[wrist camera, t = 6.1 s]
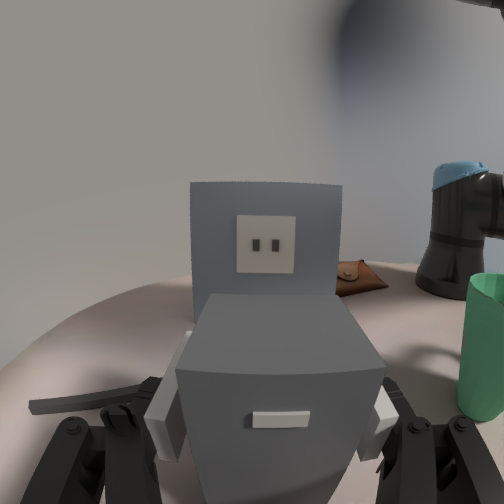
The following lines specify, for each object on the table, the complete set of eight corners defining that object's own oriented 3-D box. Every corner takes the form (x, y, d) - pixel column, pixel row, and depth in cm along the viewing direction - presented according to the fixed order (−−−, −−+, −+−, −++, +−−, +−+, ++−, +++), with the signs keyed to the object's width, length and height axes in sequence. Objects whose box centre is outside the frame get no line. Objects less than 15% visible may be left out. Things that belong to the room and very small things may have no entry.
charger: (304, 446, 14) (331, 286, 11) (314, 525, 8) (389, 369, 5) (224, 446, 14) (214, 285, 12) (213, 525, 8) (173, 371, 6)
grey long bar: (167, 384, 20) (165, 376, 20) (172, 393, 19) (170, 384, 19) (33, 406, 13) (28, 398, 13) (32, 416, 12) (27, 407, 12)
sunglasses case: (311, 305, 37) (300, 259, 38) (287, 312, 43) (279, 272, 45) (392, 286, 44) (382, 250, 45) (366, 295, 50) (358, 262, 52)
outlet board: (327, 318, 33) (337, 185, 29) (362, 389, 19) (393, 182, 16) (198, 316, 33) (194, 182, 30) (164, 386, 19) (144, 176, 16)
